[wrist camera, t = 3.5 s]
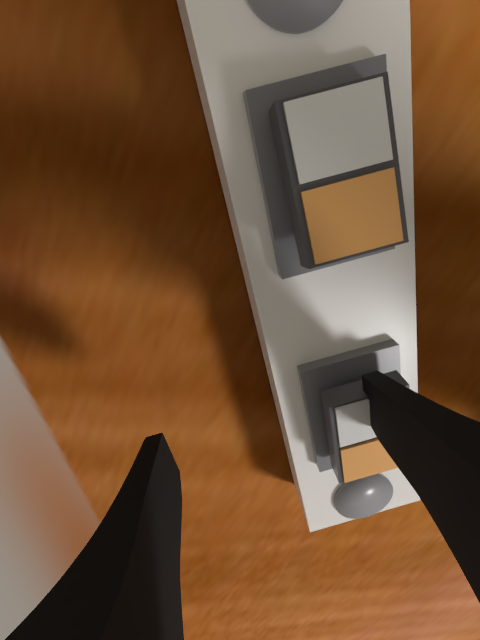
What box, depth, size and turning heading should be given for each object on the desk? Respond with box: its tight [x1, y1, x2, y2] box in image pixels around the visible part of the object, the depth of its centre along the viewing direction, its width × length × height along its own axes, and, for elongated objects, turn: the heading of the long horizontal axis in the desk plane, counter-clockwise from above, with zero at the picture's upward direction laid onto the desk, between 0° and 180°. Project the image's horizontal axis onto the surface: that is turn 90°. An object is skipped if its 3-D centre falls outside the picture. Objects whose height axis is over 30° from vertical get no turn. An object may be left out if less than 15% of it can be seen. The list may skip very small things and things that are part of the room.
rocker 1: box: [268, 71, 409, 269], centre depth 10 cm, size 4×3×1 cm
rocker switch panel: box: [177, 0, 420, 532], centre depth 15 cm, size 24×6×4 cm, turn 13°
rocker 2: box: [320, 370, 410, 484], centre depth 15 cm, size 4×3×1 cm
